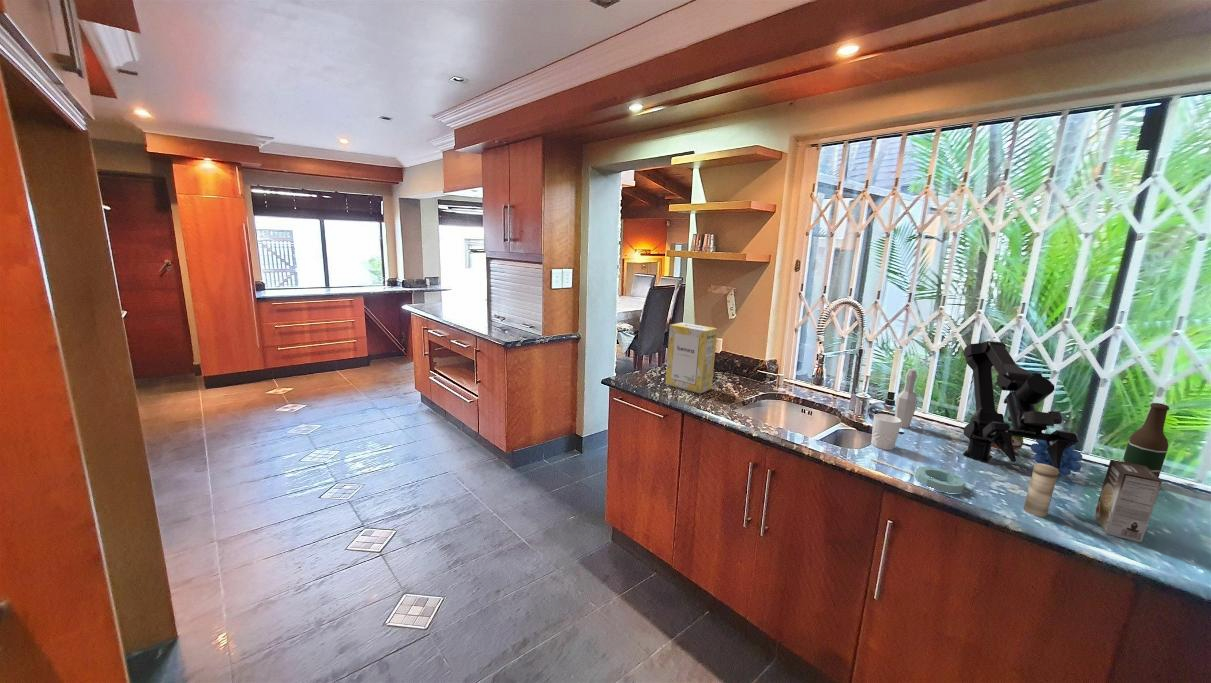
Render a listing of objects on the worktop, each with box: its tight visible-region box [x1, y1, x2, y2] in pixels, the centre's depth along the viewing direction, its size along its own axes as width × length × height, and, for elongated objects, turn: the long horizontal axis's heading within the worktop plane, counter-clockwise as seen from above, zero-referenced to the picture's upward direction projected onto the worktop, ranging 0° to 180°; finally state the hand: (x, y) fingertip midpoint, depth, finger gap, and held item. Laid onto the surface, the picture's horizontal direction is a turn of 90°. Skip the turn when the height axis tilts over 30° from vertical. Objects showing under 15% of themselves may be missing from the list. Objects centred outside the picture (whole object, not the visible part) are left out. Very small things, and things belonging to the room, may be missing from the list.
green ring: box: [914, 466, 966, 494], centre depth 130 cm, size 11×11×2 cm
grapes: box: [1030, 439, 1083, 477], centre depth 139 cm, size 12×7×12 cm, turn 44°
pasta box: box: [665, 322, 718, 395], centre depth 208 cm, size 18×10×28 cm, turn 50°
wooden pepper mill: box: [1023, 462, 1059, 518], centre depth 117 cm, size 4×4×12 cm
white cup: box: [870, 413, 901, 451], centre depth 154 cm, size 8×8×10 cm
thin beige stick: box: [871, 457, 916, 476], centre depth 139 cm, size 1×12×1 cm, turn 39°
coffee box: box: [1093, 459, 1163, 543], centre depth 110 cm, size 9×6×16 cm
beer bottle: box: [1122, 402, 1170, 478], centre depth 136 cm, size 8×8×24 cm
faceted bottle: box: [894, 368, 918, 429], centre depth 172 cm, size 6×6×22 cm
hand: (1035, 465), depth 120 cm, fingers open, 9 cm apart
